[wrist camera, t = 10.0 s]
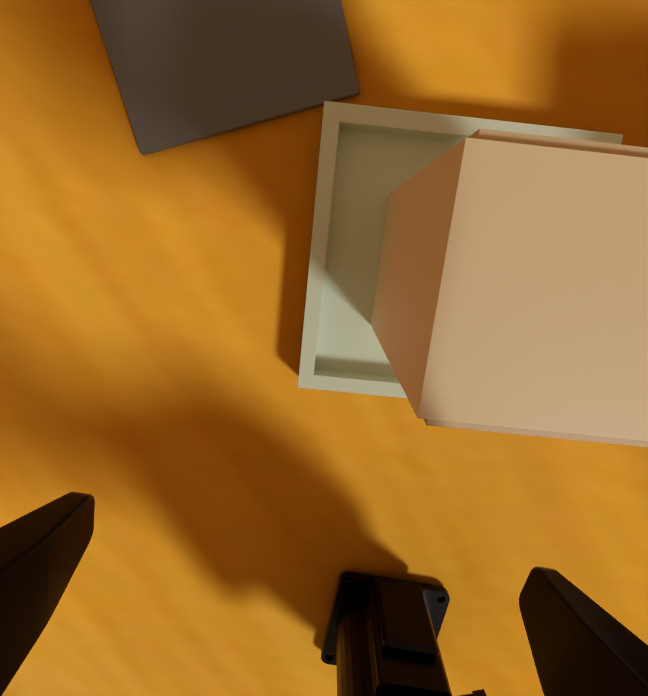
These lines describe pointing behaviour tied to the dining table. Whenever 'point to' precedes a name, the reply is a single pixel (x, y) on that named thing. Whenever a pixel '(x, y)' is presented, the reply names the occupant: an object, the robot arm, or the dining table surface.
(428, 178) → the carton
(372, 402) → the dining table surface
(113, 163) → the dining table surface
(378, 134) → the tray
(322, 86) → the mat
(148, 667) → the dining table surface
